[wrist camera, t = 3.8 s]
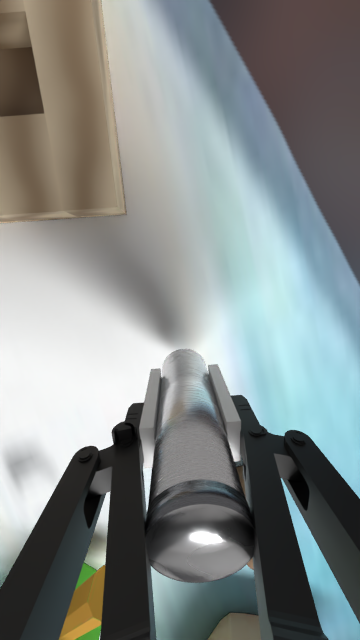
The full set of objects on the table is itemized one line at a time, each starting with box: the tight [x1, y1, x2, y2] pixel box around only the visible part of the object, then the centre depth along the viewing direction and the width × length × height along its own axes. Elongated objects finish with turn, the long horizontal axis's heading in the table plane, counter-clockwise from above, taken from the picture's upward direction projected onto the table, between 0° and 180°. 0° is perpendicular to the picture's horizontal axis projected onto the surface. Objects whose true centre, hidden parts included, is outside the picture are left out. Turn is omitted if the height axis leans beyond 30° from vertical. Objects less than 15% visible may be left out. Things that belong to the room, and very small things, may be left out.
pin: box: [145, 349, 254, 583], centre depth 14 cm, size 4×4×13 cm
